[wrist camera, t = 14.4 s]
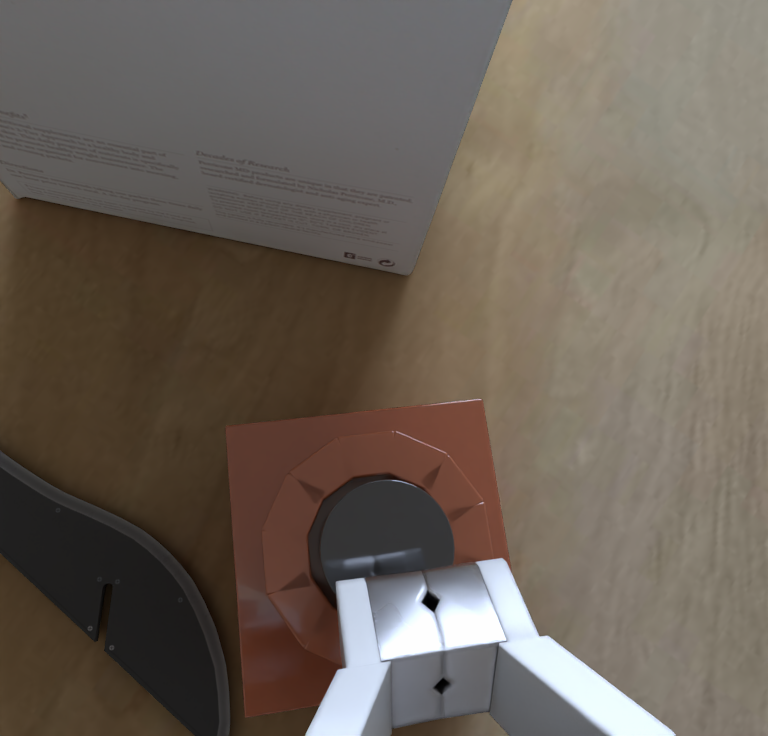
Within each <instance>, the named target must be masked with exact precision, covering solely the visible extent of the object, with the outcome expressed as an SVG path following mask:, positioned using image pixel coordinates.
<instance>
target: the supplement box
mask: <svg viewBox="0 0 768 736" xmlns="http://www.w3.org/2000/svg"><path fill="white" fill-rule="evenodd" d="M511 3H512V0H0V181H1V182H2V183H3V184H4V185H5V187H6V188H7V189H8V190H9V191H10V192H11V193H12V195H13V196H14V197H15V198H16V199H19V198H22V197H29V198H34V199H38V200H43V201H48V202H52V203H57V204H62V205H67V206H72V207H77V208H81V209H86V210H91V211H96V212H101V213H105V214H110V215H115V216H120V217H125V218H129V219H134V220H139V221H144V222H149V223H154V224H159V225H164V226H168V227H173V228H178V229H183V230H188V231H193V232H198V233H202V234H207V235H212V236H217V237H222V238H227V239H232V240H237V241H241V242H246V243H251V244H256V245H261V246H266V247H271V248H275V249H280V250H285V251H290V252H295V253H300V254H305V255H310V256H314V257H319V258H324V259H329V260H334V261H339V262H344V263H349V264H354V265H358V266H363V267H368V268H373V269H378V270H383V271H388V272H393V273H397V274H401V275H409V274H411V273H412V271H413V269H414V267H415V264H416V262H417V259H418V256H419V253H420V250H421V248H422V245H423V242H424V239H425V237H426V234H427V231H428V229H429V226H430V223H431V221H432V218H433V215H434V212H435V210H436V207H437V204H438V202H439V199H440V196H441V194H442V191H443V188H444V185H445V183H446V180H447V177H448V174H449V171H450V168H451V166H452V163H453V160H454V158H455V155H456V152H457V149H458V147H459V144H460V141H461V139H462V136H463V133H464V131H465V128H466V125H467V123H468V120H469V117H470V114H471V112H472V109H473V106H474V103H475V101H476V98H477V95H478V92H479V90H480V87H481V84H482V81H483V79H484V76H485V73H486V71H487V68H488V65H489V62H490V60H491V57H492V54H493V52H494V49H495V46H496V44H497V41H498V38H499V35H500V33H501V30H502V27H503V25H504V22H505V19H506V16H507V14H508V11H509V8H510V5H511Z"/></svg>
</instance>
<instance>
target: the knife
mask: <svg viewBox="0 0 768 736" xmlns="http://www.w3.org/2000/svg"><path fill="white" fill-rule="evenodd" d="M0 553H1V554H2V555H3V556H4V557H5V558H6V559H7V560H8V561H9V562H10V563H11V564H12V565H13V566H14V567H16V568H17V569H18V570H19V571H20V572H21V573H22V574H23V575H24V576H25V577H26V578H27V579H28V580H29V581H30V582H32V583H33V584H34V585H35V586H36V587H37V588H38V589H39V590H40V591H41V592H42V593H43V594H44V595H45V596H46V597H48V598H49V599H50V600H51V601H52V602H53V603H54V604H55V605H56V606H57V607H58V608H59V609H60V610H61V611H62V612H64V613H65V614H66V615H67V616H68V617H69V618H70V619H71V620H72V621H73V622H74V623H75V624H76V625H77V626H78V627H80V628H81V629H82V630H83V631H84V632H85V633H86V634H87V635H88V636H89V637H90V638H91V639H92V640H93V641H94V642H96V641H98V635H99V628H100V621H101V614H102V606H103V599H104V592H105V586H106V584H112V586H113V589H112V596H111V604H110V611H109V619H108V626H107V634H106V641H105V648H104V651H105V652H106V653H107V654H108V655H109V656H110V657H112V658H113V659H114V660H115V661H116V662H117V663H118V664H119V665H120V666H121V667H122V668H123V669H124V670H125V671H126V672H128V673H129V674H130V675H131V676H132V677H133V678H134V679H135V680H136V681H137V682H138V683H139V684H140V685H141V686H143V687H144V688H145V689H146V690H147V691H148V692H149V693H150V694H151V695H152V696H153V697H154V698H155V699H156V700H157V701H159V702H160V703H161V704H162V705H163V706H164V707H165V708H166V709H167V710H168V711H169V712H170V713H171V714H172V715H173V716H175V717H176V718H177V719H178V720H179V721H180V722H181V723H182V724H183V725H184V726H185V727H186V728H187V729H188V730H189V731H191V732H192V733H193V734H194V735H195V736H229V729H230V703H229V687H228V678H227V669H226V662H225V658H224V655H223V651H222V648H221V644H220V640H219V637H218V633H217V630H216V627H215V625H214V623H213V620H212V618H211V615H210V613H209V611H208V608H207V606H206V604H205V602H204V600H203V598H202V596H201V594H200V592H199V591H198V589H197V587H196V585H195V583H194V581H193V580H192V579H191V577H190V576H189V575H188V573H187V572H186V571H185V569H184V568H183V567H182V566H181V564H180V563H179V562H178V561H177V560H176V559H175V558H174V557H173V556H172V555H171V553H170V552H168V551H167V550H166V549H165V548H164V547H163V546H162V545H161V544H160V543H159V542H157V541H156V540H155V539H154V538H152V537H151V536H150V535H149V534H147V533H146V532H145V531H143V530H142V529H141V528H139V527H137V526H135V525H133V524H131V523H129V522H127V521H126V520H124V519H122V518H120V517H118V516H116V515H114V514H112V513H110V512H107V511H105V510H103V509H101V508H99V507H97V506H94V505H92V504H90V503H87V502H85V501H83V500H80V499H78V498H76V497H74V496H71V495H69V494H67V493H65V492H63V491H61V490H59V489H57V488H56V487H54V486H52V485H50V484H49V483H47V482H45V481H44V480H42V479H41V478H39V477H38V476H36V475H34V474H33V473H31V472H30V471H28V470H27V469H25V468H24V467H22V466H21V465H19V464H18V463H16V462H15V461H14V460H12V459H11V458H9V457H8V456H7V455H5V454H4V453H2V452H1V451H0Z"/></svg>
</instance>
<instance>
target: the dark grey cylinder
mask: <svg viewBox="0 0 768 736" xmlns="http://www.w3.org/2000/svg"><path fill="white" fill-rule="evenodd" d="M319 556H320V562H321V566H322V569H323V572H324V576H325V578H326V580H327V582H328V584H329V586H330V588H331V589H332V591H333V593H334V594H335V595H336V585H335V584H336V581H342V580H350V579H358V578H364V579H365V577H373V576H381V575H390V574H398V573H407V572H416V571H420V570H423V569H429V568H436V567H442V566H448V565H453V563H454V556H455V545H454V537H453V532H452V528H451V525H450V523H449V520H448V518H447V516H446V514H445V512H444V511H443V509H442V508H441V506H440V505H439V504H438V503H437V502H436V501H435V499H434V498H432V497H431V496H430V495H429V494H428V493H427V492H425V491H424V490H422V489H421V488H419V487H417V486H415V485H413V484H410V483H407V482H404V481H399V480H391V479H384V480H376V481H371V482H368V483H365V484H362V485H360V486H358V487H356V488H354V489H353V490H351V491H350V492H348V493H347V494H346V495H345V496H343V497H342V498H341V499H340V500H339V501H338V503H337V504H336V505H335V506H334V507H333V509H332V510H331V512H330V513H329V514H328V516H327V518H326V520H325V522H324V524H323V527H322V530H321V535H320V541H319Z"/></svg>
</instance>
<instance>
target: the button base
mask: <svg viewBox="0 0 768 736" xmlns="http://www.w3.org/2000/svg"><path fill="white" fill-rule="evenodd" d="M225 432H226V447H227V462H228V477H229V492H230V506H231V521H232V536H233V551H234V566H235V581H236V596H237V611H238V626H239V640H240V655H241V670H242V685H243V700H244V715H245V717H246V718H249V717H255V716H261V715H267V714H273V713H279V712H285V711H291V710H297V709H302V708H308V707H314V706H320V704H321V702H322V700H323V698H324V696H325V694H326V692H327V690H328V688H329V686H330V684H331V682H332V680H333V678H334V676H335V674H336V672H337V670H338V669H343V667H342V659H341V650H340V638H339V626H338V613H337V599H336V595H335V594H334V593H333V591H332V589H331V588H330V586H329V584H328V582H327V580H326V578H325V576H324V572H323V569H322V566H321V562H320V556H319V541H320V535H321V530H322V527H323V524H324V522H325V520H326V518H327V516H328V514H329V513H330V512H331V510H332V509H333V507H334V506H335V505H336V504H337V503H338V501H339V500H340V499H341V498H342V497H343V496H345V495H346V494H347V493H348V492H350V491H351V490H353V489H354V488H356V487H358V486H360V485H362V484H365V483H368V482H371V481H376V480H384V479H391V480H399V481H404V482H407V483H410V484H413V485H415V486H417V487H419V488H421V489H422V490H424V491H425V492H427V493H428V494H429V495H430V496H431V497H432V498H434V499H435V501H436V502H437V503H438V504H439V505H440V506H441V508H442V509H443V511H444V512H445V514H446V516H447V518H448V520H449V523H450V525H451V528H452V532H453V537H454V545H455V556H454V563H453V565H455V564H461V563H467V562H478V561H485V560H492V559H499V558H503V559H504V560H505V561H506V562H507V564H508V566H509V569H510V571H511V573H512V570H511V564H510V559H509V553H508V547H507V541H506V535H505V529H504V523H503V517H502V511H501V505H500V499H499V493H498V487H497V481H496V476H495V470H494V464H493V458H492V452H491V446H490V440H489V434H488V428H487V422H486V416H485V410H484V404H483V400H482V399H472V400H463V401H453V402H444V403H435V404H425V405H416V406H406V407H397V408H387V409H378V410H369V411H359V412H350V413H340V414H331V415H321V416H312V417H303V418H293V419H284V420H274V421H265V422H255V423H246V424H237V425H227V426H226V427H225Z"/></svg>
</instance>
